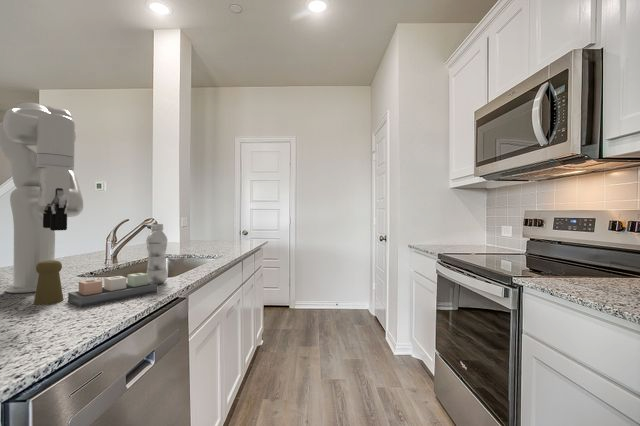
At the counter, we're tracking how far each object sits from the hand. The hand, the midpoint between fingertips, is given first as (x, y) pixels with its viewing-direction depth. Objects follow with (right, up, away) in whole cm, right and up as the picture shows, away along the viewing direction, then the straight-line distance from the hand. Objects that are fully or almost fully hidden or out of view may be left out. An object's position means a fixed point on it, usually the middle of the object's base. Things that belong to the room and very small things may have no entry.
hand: (54, 228), depth 83 cm
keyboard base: (+12, -20, +7) cm, 24 cm away
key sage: (+15, -17, +11) cm, 26 cm away
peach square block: (+8, -17, +2) cm, 19 cm away
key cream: (+12, -17, +7) cm, 22 cm away
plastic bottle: (+14, -20, +24) cm, 34 cm away
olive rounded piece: (-3, -20, +1) cm, 20 cm away
